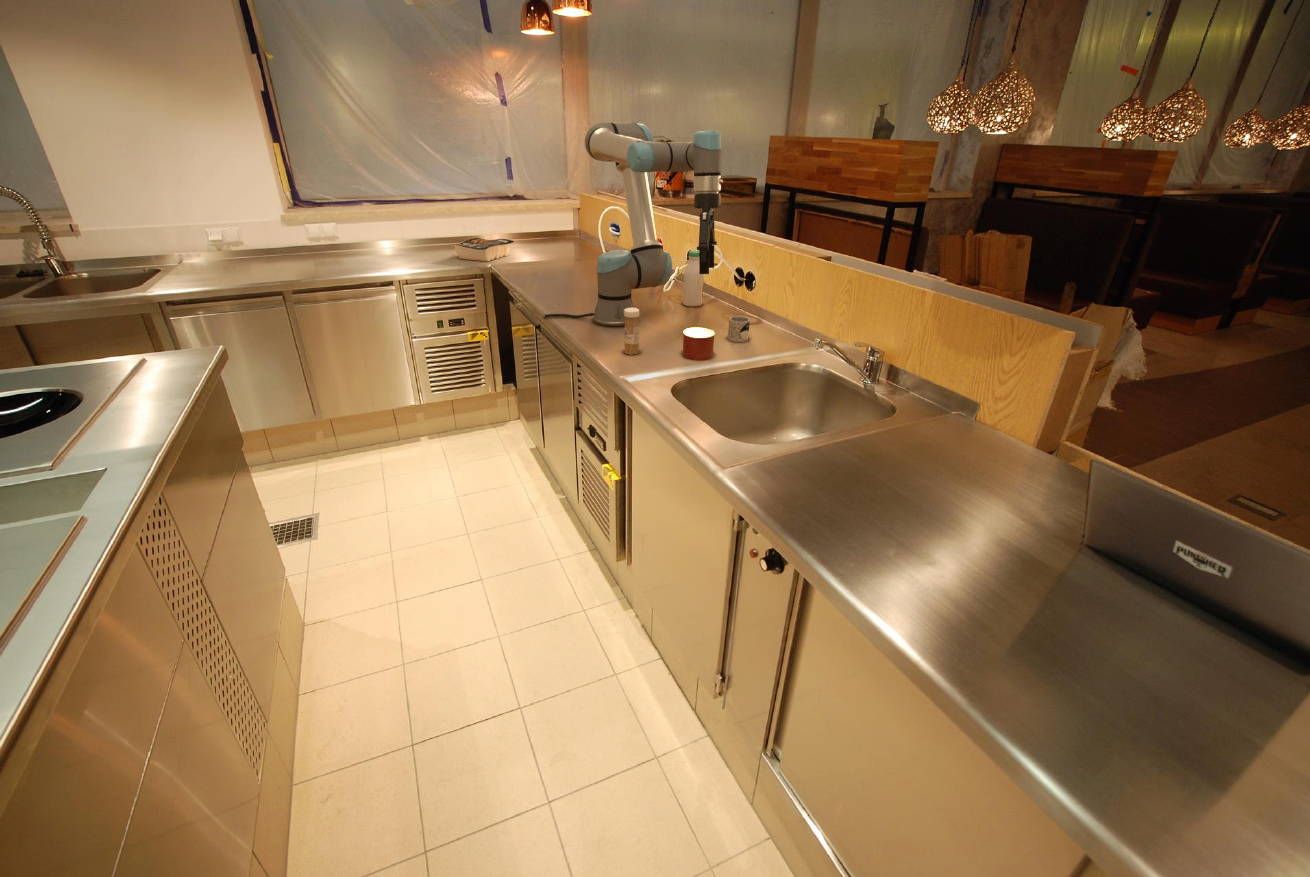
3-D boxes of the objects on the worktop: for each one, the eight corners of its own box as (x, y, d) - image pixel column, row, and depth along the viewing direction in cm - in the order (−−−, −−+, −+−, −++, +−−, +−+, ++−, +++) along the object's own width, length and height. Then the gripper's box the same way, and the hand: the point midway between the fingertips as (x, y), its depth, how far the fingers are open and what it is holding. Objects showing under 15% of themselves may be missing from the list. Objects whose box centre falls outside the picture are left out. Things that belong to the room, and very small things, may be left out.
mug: (742, 343, 184) (744, 323, 180) (724, 339, 187) (725, 319, 183) (755, 335, 191) (757, 315, 188) (737, 331, 194) (738, 312, 191)
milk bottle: (700, 307, 220) (703, 253, 210) (681, 306, 221) (683, 252, 211) (703, 302, 226) (706, 250, 217) (684, 301, 227) (686, 249, 218)
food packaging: (478, 236, 306) (514, 239, 299) (480, 251, 310) (516, 254, 303) (447, 244, 286) (486, 247, 279) (450, 259, 289) (487, 263, 283)
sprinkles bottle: (621, 352, 174) (620, 309, 168) (631, 349, 177) (631, 306, 171) (632, 356, 172) (632, 312, 165) (642, 352, 175) (642, 309, 168)
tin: (677, 356, 172) (677, 334, 169) (690, 347, 180) (691, 325, 176) (705, 362, 168) (706, 339, 165) (718, 352, 176) (719, 330, 172)
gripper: (716, 193, 149) (715, 276, 158) (724, 192, 172) (723, 265, 180) (687, 194, 151) (688, 276, 159) (699, 192, 173) (699, 265, 182)
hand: (707, 270), depth 170 cm, fingers open, 13 cm apart
